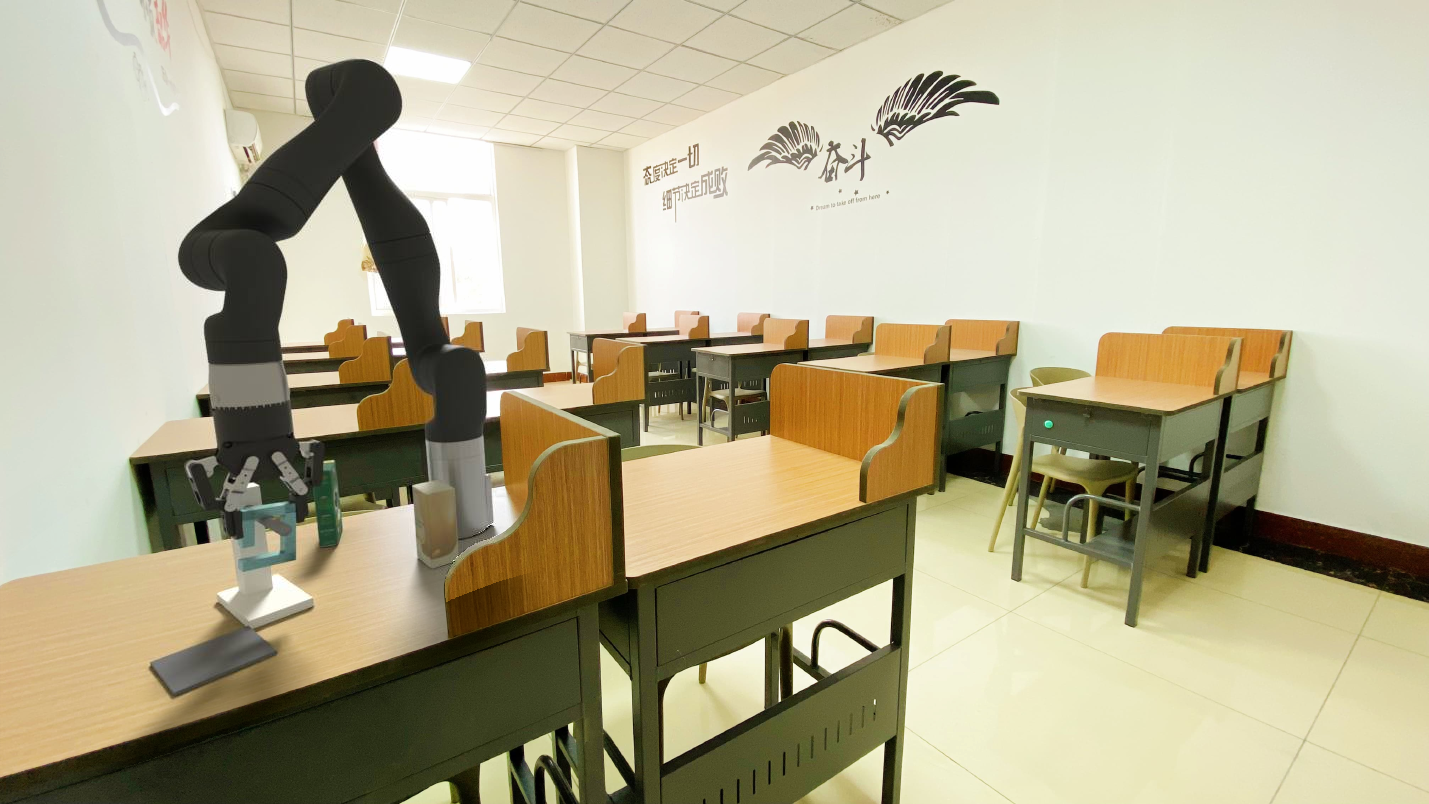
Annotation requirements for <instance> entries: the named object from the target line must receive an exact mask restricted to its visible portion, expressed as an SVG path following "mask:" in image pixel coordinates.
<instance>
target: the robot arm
mask: <svg viewBox="0 0 1429 804" xmlns="http://www.w3.org/2000/svg"><path fill="white" fill-rule="evenodd" d="M304 91H305V99H306V101H307V106H308V108H309V110H310V113H311V115H312V117H313V121H312V122H311V123H310V124H309V125H308V126H306V127H305V128H304V129H303V130H302V131H301V132H298V134H296V135H295V136H293V137H292V138H291V139H290V140H288V141H287V142H285V143H284V144H283V145H281V146H279V148H277V149H276V150H274V152H272V153H271V154H270V155H269V156H268V157H266V159H265V160H264V161H263V162H262V163H261V164H260V165H259V167H258V168H257V169H256V170H255V171H254V172H253V173H252V175H251V176H250V177H249V178H248V180H247V181H246V182H245V183H244V185H243V186H242V187H241V189H240V190H239V191H238V193H237V194H236V195H235V196H234V197H233V198H231V199H229V200H228V201H227V202H225V203H223V204H222V205H221V206H218V208H216V209H215V210H214V211H212V212H211V213H210V214H208V215H207V216H206V217H204V218H203V219H202V220H201V221H200V222H197V224H196V225H195V226H194V227H192V228H191V229H190V230H189V232H187V234H186V235H185V236H184V238H183V239H182V241H181V243H180V245H179V248H178V252H177V261H178V266H179V269H180V270H181V273H182V274H183V276H184V277H185V278H186V279H187V280H188V281H189V282H191V283H192V284H193V285H195V286H197V287H199V288H201V289H205V290H208V291H211V292H224V297H223V305H222V309H221V310H220V311H219V312H216V313H213V314H211V315H209V316H208V317H206V319H205V321H204V323H203V334H204V335H203V336H204V341H205V349H206V350H205V351H206V357H207V363H208V379H207V380H208V384H207V385H208V390H209V391H208V392H209V397H210V398H209V399H210V403H211V404H210V405H211V406H210V407H211V412H212V419H213V420H212V421H213V425H214V430H215V431H214V432H215V440H216V449H215V451H214V454H213V455H211V456H208V457H206V458H201V459H198V460H194V459H188V460H186V461H185V462H184V464H183V468H184V470H185V473H186V476H187V479H188V481H189V484H190V486H191V489H192V492H193V495H194V497H195V500H196V502H197V505H198V506H199V507H201V508H203V509H204V510H206V511H208V512H212V511H219V512H220V515H221V523H222V529H223V532H224V533H225V535H226V536H228V537H230V538H231V537H232V538H234V539H235V540H238V539H242V538H244V534H243V527H242V520H241V513H240V510H239V509H237V506H238V504H239V501H240V499H241V496H242V494H243V493H244V492H245V491H246V489H247V486H248V484H249V483H257V482H259V481H262V480H265V479H276V478H279V479H280V480H281V481H282V482H283V483H284V485H285V486H287V488H288V489H289V490H290V493H288V496H289V497H288V498H289V500H288V501H292V502H294V503H296V524H301V523H304V522H305V521H306V519H305V518H307V517H308V516H309V512H310V511H309V503H308V502H309V501H308V493H309V491H310V490H313V488H314V487H318V486H320V485H321V484H322V481H323V465H324V461H325V448H326V447H325V444H324V442H322V441H319V440H315V439H309V440H308V441H298V439H296V436H295V431H294V430H295V429H294V423H293V421H294V420H293V412H292V405H291V398H290V397H291V396H290V395H291V389H290V386H289V382H288V381H289V380H288V376H287V373H286V370H285V365H284V361H283V351H282V344H281V336H280V331H279V327H280V322H281V318H282V313H283V308H284V302H285V298H286V297H285V296H286V290H287V285H288V284H287V283H288V267H287V262H286V258H285V256H284V254H283V253H284V252H282V250H281V248H280V247H279V245H278V244H277V243H278V242H280V241H286V240H289V239H292V238H294V237H295V236H296V235H297V234H299V233H300V232H301V231H302V229H303V228H304V226H305V225H306V224H307V222H308V221H309V220H310V218H311V217H312V215H313V214H314V212H315V211H316V210H317V208H318V207H319V206H320V204H321V203H322V201H323V200H324V198H325V197H326V195H328V193H329V192H330V190H331V189H332V188H333V186H335V184H336V183H337V182H338V180H339V179H340V178H342V180H343V183H344V186H345V188H346V190H347V193H348V196H349V198H350V201H351V203H352V206H353V208H354V211H355V213H356V216H357V218H358V221H359V222H360V225H361V229H362V232H363V235H364V237H365V241H366V244H367V246H368V249H369V252H370V254H371V257H372V261H373V263H374V265H375V268H376V270H377V273H378V275H379V277H380V279H381V280H380V281H381V282H382V285H383V288H384V291H385V292H386V296H387V299H388V302H389V304H390V306H391V307H390V308H391V309H392V311H393V314H394V316H395V319H396V322H397V326H398V329H399V331H400V335H401V339H402V343H403V348H404V351H405V354H406V358H407V364H408V366H409V367H408V368H409V371H410V375H411V376H412V379H413V382H414V383H415V385H416V386H417V387H418V388H419V389H420V390H421V391H422V392H424V393H425V394H427V395H430V396H433V397H435V413H434V417H432V418H431V419H429V420H428V421H426V423H425V425H424V436H425V446H426V447H425V448H426V449H425V450H426V460H427V473H428V482H430V481H435V480H440V481H442V482H444V483H446V484H448V485H449V486H451V487H453V488H455V502H456V519H457V537H458V540H460V539H465V538H470V537H474V536H473V535H475V536H477V535H479V534H478V533H479V532H481V531H483V530H484V529H486V528H487V526H488V525H490V524H492V523H493V522H494V506H493V489H492V475H490V474H488V473H487V472H486V458H485V457H486V456H485V443H484V442H485V440H484V424H485V421H486V419H487V414H488V413H487V412H488V411H487V410H488V403H487V402H488V401H487V399H488V398H487V397H488V395H487V393H488V392H487V390H488V389H487V387H488V385H487V383H488V382H487V373H486V372H487V371H486V367H485V364H484V363H485V362H484V361H483V358H482V357H481V355H480V354H479V353H478V352H477V351H476V350H475V349H473V348H471V347H468V346H467V345H466V346H465V345H457V344H452V343H451V340H450V338H449V336H448V334H447V329H446V328H445V325H444V323H443V319H442V316H441V311H440V289H441V261H440V259H439V254H438V251H437V247H436V245H435V242H434V238H433V236H432V233H431V229H430V228H429V224H428V222H427V220H426V219H425V217H424V216H423V214H422V213H421V211H420V210H419V209H418V208H417V207H416V205H415V204H414V203H413V201H412V200H410V198H409V197H408V196H407V195H406V194H405V193H404V192H403V191H402V190H401V189H400V188H399V186H398V185H396V183H395V182H394V180H392V178H391V177H390V176H389V174H388V172H387V171H386V170H385V169H386V168H385V167H384V165H383V163H382V161H381V159H380V156H379V154H378V151H377V149H376V146H375V144H374V142H375V141H376V140H378V138H380V137H381V136H382V135H384V134H385V133H386V132H387V131H388V130H390V128H392V127H393V126H394V125H395V124H396V123H397V122H398V120H399V119H400V117H401V114H402V110H403V99H402V98H403V97H402V92H401V90H400V87H399V85H398V83H397V82H396V80H395V78H394V77H393V76H392V74H391V73H390V72H389V70H387V69H386V68H385V67H384V66H383V65H381V64H380V63H379V62H376V60H375V61H374V60H372V59H369V58H363V57H357V58H354V57H353V58H347V59H344V60H340V61H336V62H333V63H330V64H326V65H324V66H320V67H318V68H315V69H313V70H311V71H310V72H309V73H308V75H307V76H306V79H305V83H304ZM299 451H300V452H301V456H303V458H305V462H304V463H305V464H304V465H305V466H304V478H303V479H302V478H300V475H299V474H298V472H297V471H296V470H295V469H294V468H293V466H292V465H291V464H292V462H293V461H294V459H295V458H296V456H297V455H298V453H299ZM216 466H219V467H221V468H222V469H223V470H225V472H227V473H228V474H227V476H226V478H225V480H224V483H223V485H222V486H223V488H222V491H221V494H220V496H219V497H216V496H215V493H214V491H213V488H212V485H211V482H210V479H209V478H210V477H211V476H213V475H214V467H216ZM494 523H495V522H494ZM476 534H477V535H476Z"/></svg>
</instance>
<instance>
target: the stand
mask: <svg viewBox="0 0 1429 804" xmlns="http://www.w3.org/2000/svg"><path fill="white" fill-rule="evenodd" d="M260 487H261V486H260V485H259V484H257V483H256V482H253V483H249V484H248V486H247V489H246V491H245V492H244V493H243V494H242V496H241V499H240V501H239V504H238V506H237V509H241V508H247V507H254V506H260V505H263V502H262V494H261V493H262V492H261V488H260ZM266 528H267V529H268V530H270V531H272V532H274V533H276V534H277V535H278V536H280V535H281V536H287V535H289V534H290V533H291V532H292V527H291V526H290V525H288V524H286V523H284V522H282V521H281V520H280V518H277V517H276V516H271V517H265V518H259V519H255V546H252V547H247V548H241V547H240V546H238V540H235V539H234V538H232V537H230V540H231V546H232V547H231V549H232V553H233V555H232V556H233V560H234V561H233V563H234V569H235V575H236V582H237V586H235V587H232V588H228V589H225V590H221V591H219V592H216V599H217V602H218V603H219V604H220V605H221V604H222V605H223V606H224V609H226V610H227V611H228V612H229V611H230V612H229V613H230V614H231V615H233V617H235V618H236V619H237V620H238V621H240V622H241V624H243V625H244V627H246V626H249V627H251V628H252V629H253V630H254V629H257V628H259V627H261V626H265V625H267V624H270V623H272V622H275V621H278V620H280V619H283V618H287V617H288V616H291V615H294V614H296V613H299V612H302V611H304V610H306V609H309V608H312V607H314V606H315V603H314V597H313V596H311V595H310V594H308V593H306V592H305V591H303V589H301V588H300V587H298V586H296V585H295V584H294V583H292V582H290V581H289V580H287V579H286V578H285V577H283V576H282V575H280V574H279V573H276V574H272V569H271V566H268V567H263V568H259V569H254V570H250V571H246V572H242V571H241V570H239V569H238V559H242V558H247V557H251V556H256V555H261V554H266V553H269V547H268V546H269V545H268V540H267V533H266V531H267V529H266ZM222 605H221V606H222ZM223 606H222V607H223Z"/></svg>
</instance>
